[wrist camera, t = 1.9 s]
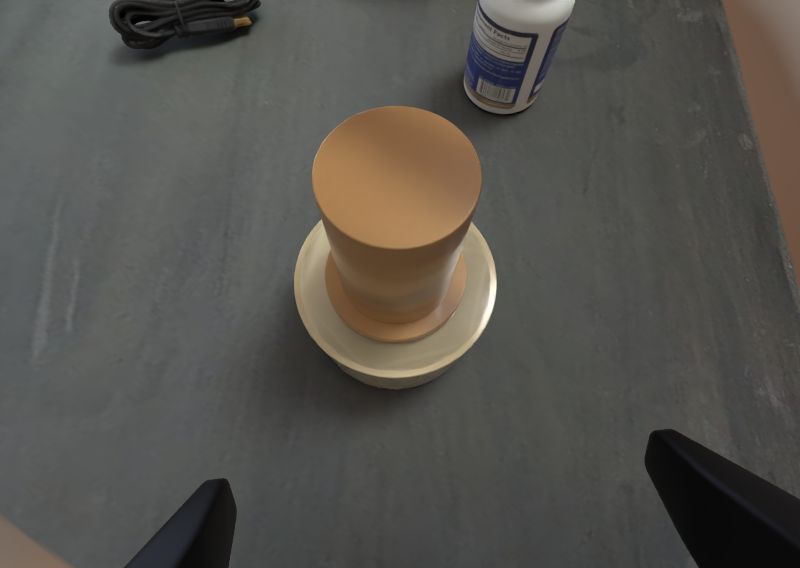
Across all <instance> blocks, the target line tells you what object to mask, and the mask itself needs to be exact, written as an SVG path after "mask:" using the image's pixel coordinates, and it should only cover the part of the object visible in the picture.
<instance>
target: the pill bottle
mask: <svg viewBox="0 0 800 568" xmlns="http://www.w3.org/2000/svg"><path fill="white" fill-rule="evenodd" d="M574 3H575V0H478V1H477V7H476V12H475V18H474V23H473V28H472V34H471V39H470V45H469V50H468V56H467V61H466V67H465V74H464V88H465V91H466V93H467V95H468V97H469V98H470V99H471V100H472V101H473V102H474V103H475V104H476V105H477V106H479V107H480V108H482V109H484V110H486V111H489V112H492V113H497V114H511V113H515V112H519V111H521V110H523V109H525V108H527V107H528V106H530V105H531V104H532V103H533V102H534V100H535V99H536V98H537V96H538V93H539V91H540V89H541V87H542V84H543V82H544V79H545V76H546V74H547V72H548V69H549V67H550V64H551V62H552V59H553V57H554V54H555V52H556V49H557V47H558V44H559V42H560V39H561V37H562V34H563V32H564V29H565V27H566V24H567V22H568V19H569V17H570V14H571V12H572V9H573V6H574Z"/></svg>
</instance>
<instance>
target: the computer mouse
mask: <svg viewBox="0 0 800 568" xmlns="http://www.w3.org/2000/svg"><path fill="white" fill-rule="evenodd" d="M260 5H261V2H260V1H259V0H234V1H229V2H225V1H224V0H182V1H176V0H174V2H158V1H151V0H117V1H115V2H113V3H112V4H111V6H110V9H109V18H110V23H111V24H112V26H113V27H114V29H115V30H116V31H117V32H119V33H120V34H121V35H122V40H123V41H124V43H125V44H126V45H127V46H129V47H131V48H135V49H153V48H156V47H158V46H160V45H161V44H163V43H164V42H166V41H167V40H169V39H170V38H171V37H173V36H174V35H177V36H178V37H179V38H182V37H187V38H188V37H190V36H199V35H206V34H214V33H221V32H228V31H233V30H235V28H236V27H240V26H247V25H249V26H250V25H251V21H250V20H249V18H248V17H247V16H246V15H245V13H246V12H249V11H252V10H254V9H256V8H258V7H259V6H260ZM141 21H151V22H148V23H145V24H140V25H135V24H136V23H138V22H141Z"/></svg>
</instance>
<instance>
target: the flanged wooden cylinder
mask: <svg viewBox="0 0 800 568" xmlns="http://www.w3.org/2000/svg"><path fill="white" fill-rule="evenodd" d="M312 186H313V192H314V196H315V199H316V202H317V205H318V209H319V212H320V215H321V218H322V222H323V225H324V228H325V231H326V235H327V238H328V241H329V245H330V248H331V250H330V252H329V254H328V258H327V261H326V267H325V283H326V289H327V292H328V296H329V298H330V301H331V303H332V305H333V307H334V309H335V311H336V312H337V314H338V315H339V316H340V318H341V319H342V320H343V321H344V322H345V323H346V324H347V325H348V326H349V327H351V328H352V329H353V330H355V331H356V332H358V333H359V334H361V335H363V336H365V337H368V338H370V339H373V340H376V341H381V342H387V343H405V342H410V341H415V340H418V339H421V338H424V337H426V336H428V335H430V334H432V333H434V332H435V331H437V330H438V329H440V328H441V327H442V326H443V325H444V324H445V323H447V321H448V320H449V319H450V318H451V317H452V316H453V314H454V313H455V311H456V310H457V308H458V306H459V304H460V301H461V299H462V297H463V294H464V290H465V285H466V265H465V260H464V257H463V254H462V252H461V250H462V247H463V244H464V241H465V238H466V235H467V232H468V229H469V226H470V223H471V220H472V218H473V215H474V212H475V209H476V206H477V203H478V200H479V197H480V193H481V187H482V171H481V165H480V161H479V158H478V155H477V153H476V151H475V149H474V147H473V145H472V144H471V142H470V141H469V139H468V138H467V137H466V136H465V135H464V134H463V132H462V131H460V130H459V129H458V128H457V127H456V126H455V125H453V124H452V123H451V122H449V121H448V120H446V119H444V118H442V117H441V116H439V115H437V114H434V113H432V112H429V111H426V110H422V109H419V108H413V107H406V106H386V107H379V108H374V109H370V110H367V111H364V112H361V113H358V114H356V115H354V116H352V117H350V118H348V119H347V120H345V121H344V122H342V123H341V124H340V125H338V126H337V127H336V128H335V129H334V130H333V131H332V132H331V133H330V134H329V135H328V136H327V137H326V139H325V140H324V141H323V143H322V144H321V146H320V148H319V150H318V152H317V154H316V157H315V160H314V163H313V169H312Z"/></svg>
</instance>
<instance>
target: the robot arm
mask: <svg viewBox="0 0 800 568" xmlns="http://www.w3.org/2000/svg"><path fill="white" fill-rule="evenodd" d="M645 467H646V470H647V472H648V474H649V476H650V478H651V480H652V482H653V484H654V486H655V488H656V490H657V492H658V494H659V496H660V498H661V500H662V502H663V504H664V506H665V508H666V510H667V512H668V514H669V516H670V518H671V520H672V522H673V524H674V526H675V527H676V529H677V531H678V533H679V535H680V537H681V539H682V541H683V542H684V544H685V546H686V547H687V549H688V551H689V552H690V554H691V556H692V557H693V559H694V561H695V562H696V564H697V565H698V567H699V568H800V499H798V498H797V497H795V496H793V495H791V494H789V493H788V492H786V491H784V490H782V489H780V488H779V487H777V486H775V485H773V484H771V483H769V482H768V481H766V480H764V479H762V478H760V477H759V476H757V475H755V474H753V473H751V472H749V471H748V470H746V469H744V468H742V467H740V466H739V465H737V464H735V463H733V462H731V461H730V460H728V459H726V458H724V457H722V456H720V455H719V454H717V453H715V452H713V451H711V450H710V449H708V448H706V447H704V446H702V445H701V444H699V443H697V442H695V441H693V440H691V439H690V438H688V437H686V436H684V435H682V434H681V433H679V432H677V431H675V430H672V429H664V430H655V431H653V432H652V433H651V434H650V436H649V441H648V445H647V449H646V454H645ZM236 515H237V509H236V504H235V501H234V497H233V494H232V491H231V488H230V484H229V482H228V480H227V479H224V478H222V479H213V480H207V481H205V482H204V483H203V484H202V485H201V486H200V487H199V488H198V489H197V490H196V491H195V492H194V493H193V494H192V495H191V497H190V498H189V499H188V500H187V501H186V502H185V503H184V504H183V505H182V506H181V507H180V508H179V509H178V510H177V512H176V513H175V514H174V515H173V516H172V517H171V518H170V519H169V520H168V521H167V522H166V523H165V524H164V525H163V527H162V528H161V529H160V530H159V531H158V532H157V533H156V534H155V535H154V536H153V537H152V538H151V539H150V540H149V542H148V543H147V544H146V545H145V546H144V547H143V548H142V549H141V550H140V551H139V552H138V553H137V554H136V555H135V557H134V558H133V559H132V560H131V561H130V562H129V563H128V564H127V565H126V566H125V567H124V568H228V567H229V561H230V554H231V548H232V542H233V535H234V529H235V523H236Z"/></svg>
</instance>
